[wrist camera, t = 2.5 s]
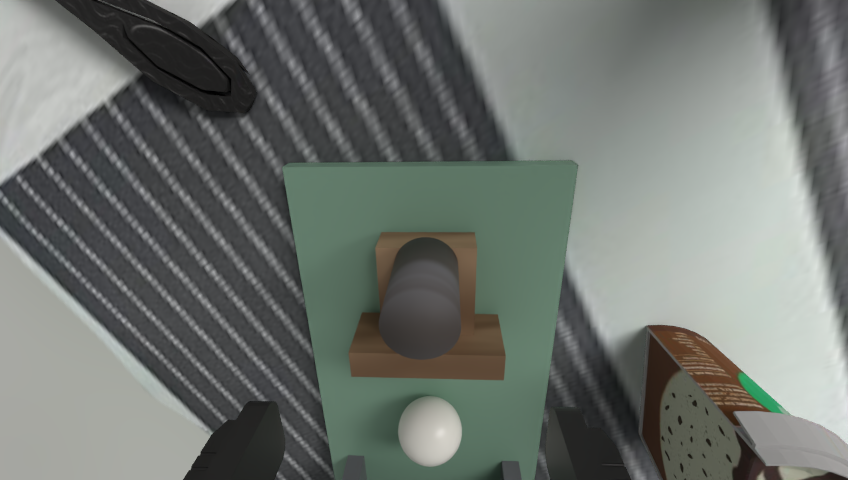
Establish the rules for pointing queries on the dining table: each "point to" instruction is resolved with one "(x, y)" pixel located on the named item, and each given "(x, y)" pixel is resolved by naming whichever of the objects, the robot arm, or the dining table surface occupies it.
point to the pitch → (495, 294)
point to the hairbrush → (170, 52)
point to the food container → (723, 419)
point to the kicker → (427, 313)
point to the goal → (356, 475)
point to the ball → (430, 431)
